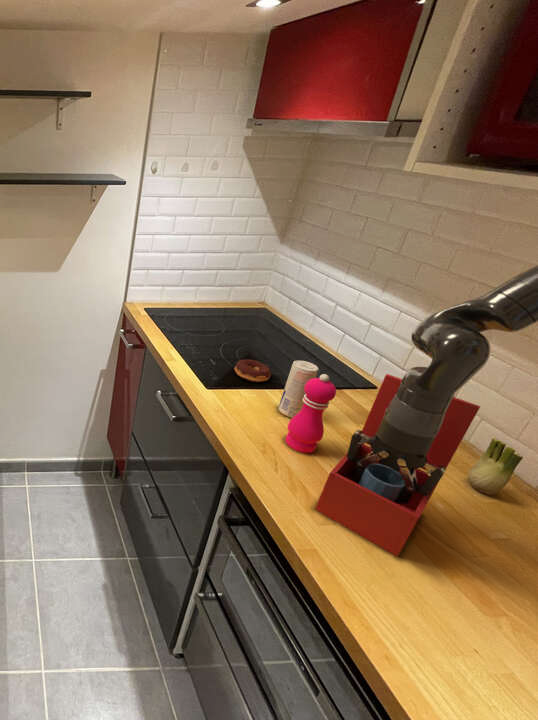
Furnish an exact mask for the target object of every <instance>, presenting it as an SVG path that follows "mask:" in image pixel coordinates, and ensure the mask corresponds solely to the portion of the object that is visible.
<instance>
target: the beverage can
mask: <svg viewBox="0 0 538 720" xmlns="http://www.w3.org/2000/svg"><path fill="white" fill-rule="evenodd" d="M318 371H319V367H318V366H317V365H316V364H314V363H312V362H309V361H306V360H294V361H292V365H291V368H290V370H289V374H288V377H287V380H286V382H285V385H284V389H283V392H282V395H281V398H280V401H279V404H278V408H277V409H278V411H279V412H280V413H281V414H282V415H283V416H286V417H289V418H291V419H292V418H293V417H294V416H295V415H296V414H298V413H299V412H300V410H301V409H302V407H303V404H304V402H303V398H304V395H305V394H306V393H305V391H304V387H305V384H306V383H307V382H308V381H309V380H310V379H313V378H317V374H318Z"/></svg>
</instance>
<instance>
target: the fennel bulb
mask: <svg viewBox="0 0 538 720" xmlns="http://www.w3.org/2000/svg"><path fill="white" fill-rule="evenodd" d="M523 458H524V456H523V455H522V454H520V453H519V452H516V449H515V448H514V447H511V446H507V444H506V443H505V442H503V441H502V440H501V439H499V438H496V437H494V438H493V437H492V438H491V441H490V443H489V445H488V447H487V449H486V450H485V452H484V454H482V456H481V457H480V458H479V459H477V461H476V462H475V463H474V464H473V466H472V467H471V468H470V470H469V472H468V476H467V482H468V484H469V485H470V486H471V487H472V488H474V489H475V490H476V491H478V492H480V493H483V494H485V495H488V496H494V495H496V494H497V493H499V492H500V491H502V490H503V489H504V487H506V486H507V484H508V483H509V481H510V479H511V478H512V475H513V474H514V472H515V471H516V468H517V467H518V465H519V464H520V463H521V461H522V460H523Z"/></svg>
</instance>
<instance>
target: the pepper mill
mask: <svg viewBox="0 0 538 720" xmlns="http://www.w3.org/2000/svg"><path fill="white" fill-rule="evenodd" d="M304 391H305V393H306V394H305V395H304V398H303V402H304V404H303V407H302V409H301V410H300V412H299V413H298V414H296V415H295V416H294V417H293V418H292V417H291V419H289V421H288V424H287V430H288V432H287V433H286V437H285V443H286V444H287V445H288V446H289V447H290V448H291V449H293V450H295V451H298V452H300V453H303V454H304V453H305V454H311V453H313V452H315V450H316V449H317V446H318V442H320V441H322V440H323V437H324V433H325V428H324V427H325V426H324V423H323V415H324V412H325V410H326V409H328V408H329V405H330V402H331V401H332V400H334V399H335V397H336V395H337V388H336V386H335V385H334V384H333V382H331V381H330V376H329V375H328V374H326V373H323V374H320V376H319V377H315V378H313V379H310V380H309V381H308V382H307V383H306V384H305V387H304Z"/></svg>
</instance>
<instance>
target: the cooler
mask: <svg viewBox="0 0 538 720" xmlns="http://www.w3.org/2000/svg"><path fill="white" fill-rule="evenodd" d="M370 452H372V449H371V447H370V445H368V444H366V443H365V444H364V445H360V449H359V453H358V454H359V455H360V456H361V457H363V456H365V455H367V454H369V453H370ZM375 463H378V464H380V463H379V461H377V462H375ZM355 467H356V464H355V462H353V461H352V460H349V459H347V453H346V454H345V455H344V456H343V457H342V458H341V459H340V461H339V462H337V464H336V465H335V466H334V467H333V469H332V470H331V471H330V472H329V474H328V476H327V479H326V481H325V484H324V486H323V488H322V491H321V493H320V496H319V498H318V500H317V503H316V505H315V507H314V509H315V510H316V511H317V512H319V513H321V514H323V515H324V516H326V517H328V518H330V519H331V520H333V521H335V522H337V523H338V524H340V525H341V526H344V527H345V528H346V529H349V530H351V531H352V532H354V533H355V534H357V535H359V536H361V537H363V538H364V539H366V540H368V541H369V542H371V543H373V544H375V545H376V546H378V547H379V548H381V549H383V550H385V551H387V552H389V553H390V554H392V555H394V556H396V557H399V555H400V553H401V551H402V550H403V548H404V546H405V544H406V543H407V541H408V539H409V537H410V535H411V533H412V532H413V529H414V528H415V526H416V524H417V523H418V521H419V519H420V518H421V515H422V514H423V512H424V510H425V508H426V506H427V505H428V503H429V500H430V499H431V497H432V495H433V493H434V492H435V490H436V488H437V486H438V485H439V482H440V480H441V479H440V480H439V481H438V483H437V484H436V485H435V487H434V488H433V489H432V490H431V492H430V493H429V494H428V495H427V496H424V495H422V494H421V493H417V492H416V493H413V495H412V497H411V499H410V501H409V503H408V504H404V503H402V505H400V504H398V503H397V504H396V503H394V502H392V501H390V500H388V499H386V498H384V497H382V496H380V495H378V494H376V493H374V492H372V491H370V490H368V489H367V488H365V487H363V486H361V485H359V484H358V483H356V482H354V480H355V479H354V478H352V474H353V471H354V469H355ZM415 471H416V479H417V482H418V483H420V484H424V483H425V482H426V480H427V479H428V478H429V476H428V475H427V474H426V470H424V469H421V468H418V469H415ZM399 473H401V472H400V471H399Z"/></svg>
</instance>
